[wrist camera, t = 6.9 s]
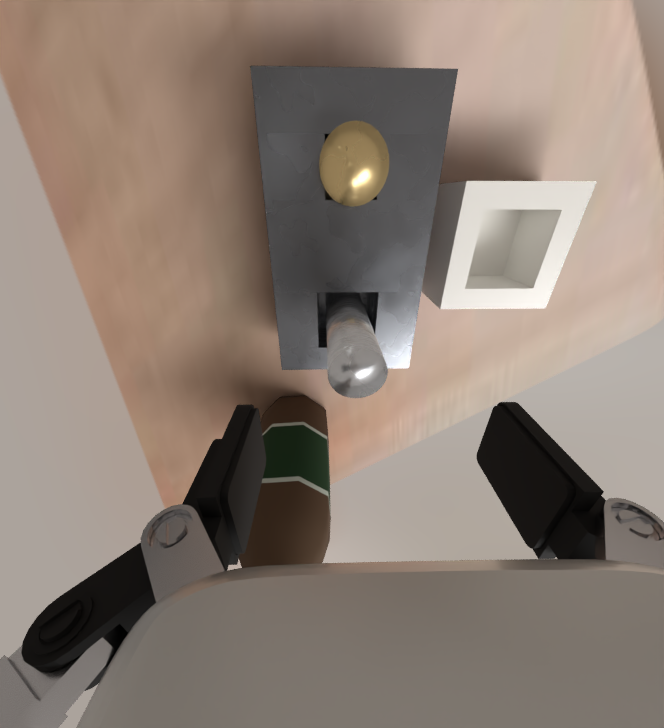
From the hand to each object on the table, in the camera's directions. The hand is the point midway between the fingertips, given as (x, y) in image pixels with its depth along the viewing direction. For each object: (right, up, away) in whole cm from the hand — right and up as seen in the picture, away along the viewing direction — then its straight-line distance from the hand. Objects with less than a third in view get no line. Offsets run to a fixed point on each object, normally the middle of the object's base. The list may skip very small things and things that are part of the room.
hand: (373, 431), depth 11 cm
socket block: (-1, +13, +12) cm, 17 cm away
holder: (+10, +13, +12) cm, 20 cm away
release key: (-1, +16, +9) cm, 18 cm away
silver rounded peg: (-1, +8, +13) cm, 16 cm away
